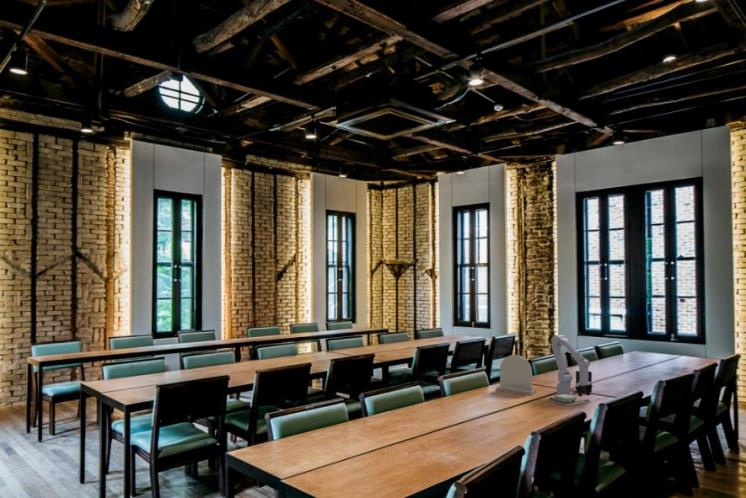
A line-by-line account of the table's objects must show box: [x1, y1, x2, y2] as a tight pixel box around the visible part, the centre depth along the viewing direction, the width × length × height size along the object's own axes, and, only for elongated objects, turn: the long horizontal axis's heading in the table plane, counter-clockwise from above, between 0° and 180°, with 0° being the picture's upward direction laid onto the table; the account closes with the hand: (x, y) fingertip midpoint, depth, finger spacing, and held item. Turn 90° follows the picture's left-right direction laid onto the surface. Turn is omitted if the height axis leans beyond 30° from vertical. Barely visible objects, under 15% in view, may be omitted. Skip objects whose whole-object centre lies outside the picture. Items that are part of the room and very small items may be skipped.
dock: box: [547, 396, 588, 407], centre depth 360 cm, size 16×20×3 cm
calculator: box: [575, 370, 593, 393], centre depth 396 cm, size 11×4×15 cm, turn 84°
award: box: [495, 354, 537, 396], centre depth 392 cm, size 28×9×28 cm, turn 54°
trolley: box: [554, 394, 577, 402], centre depth 359 cm, size 10×10×4 cm
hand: (584, 395), depth 368 cm, fingers open, 7 cm apart
